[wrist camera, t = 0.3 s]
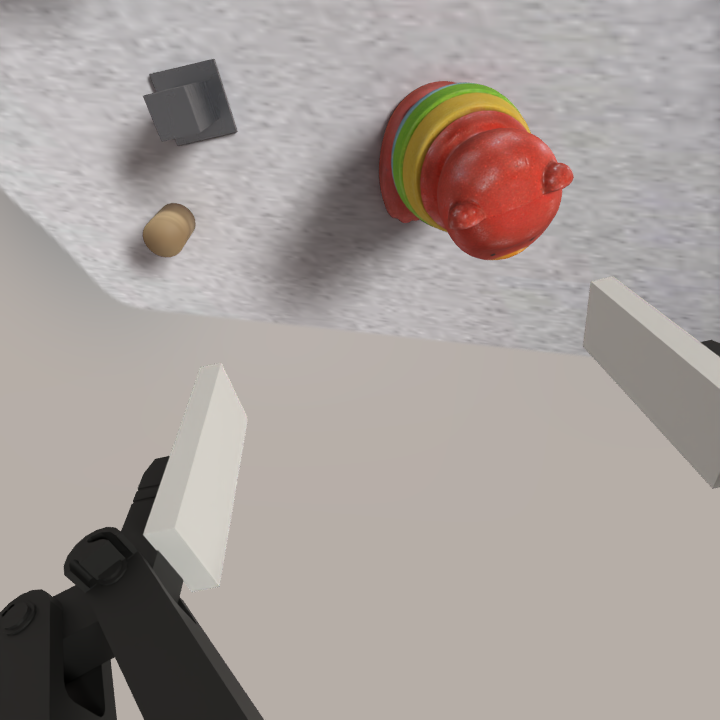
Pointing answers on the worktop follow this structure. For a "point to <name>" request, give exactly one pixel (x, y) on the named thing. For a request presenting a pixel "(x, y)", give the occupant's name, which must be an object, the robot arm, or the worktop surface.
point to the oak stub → (169, 230)
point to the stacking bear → (470, 169)
